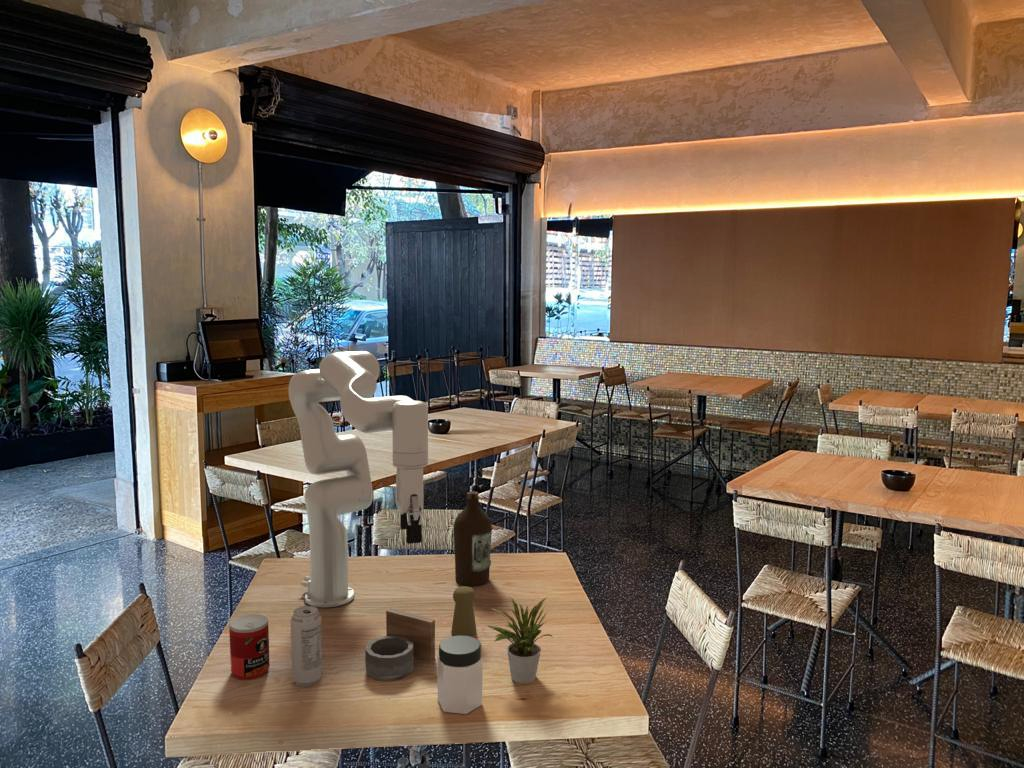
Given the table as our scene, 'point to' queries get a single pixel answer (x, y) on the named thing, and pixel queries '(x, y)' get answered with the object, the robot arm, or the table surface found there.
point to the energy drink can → (306, 646)
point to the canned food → (249, 646)
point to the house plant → (522, 642)
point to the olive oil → (472, 543)
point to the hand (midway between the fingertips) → (410, 535)
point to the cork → (464, 612)
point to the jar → (460, 674)
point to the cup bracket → (400, 646)
